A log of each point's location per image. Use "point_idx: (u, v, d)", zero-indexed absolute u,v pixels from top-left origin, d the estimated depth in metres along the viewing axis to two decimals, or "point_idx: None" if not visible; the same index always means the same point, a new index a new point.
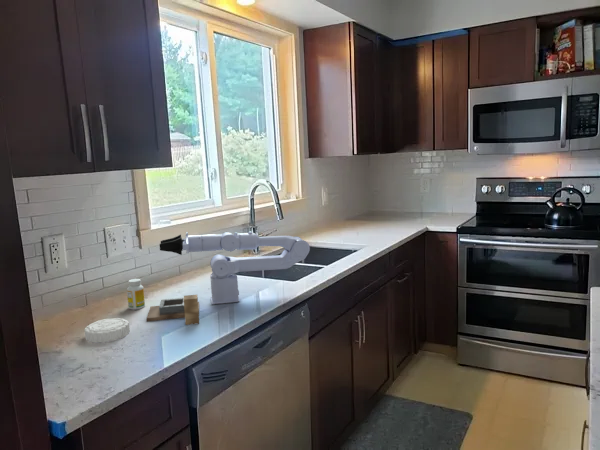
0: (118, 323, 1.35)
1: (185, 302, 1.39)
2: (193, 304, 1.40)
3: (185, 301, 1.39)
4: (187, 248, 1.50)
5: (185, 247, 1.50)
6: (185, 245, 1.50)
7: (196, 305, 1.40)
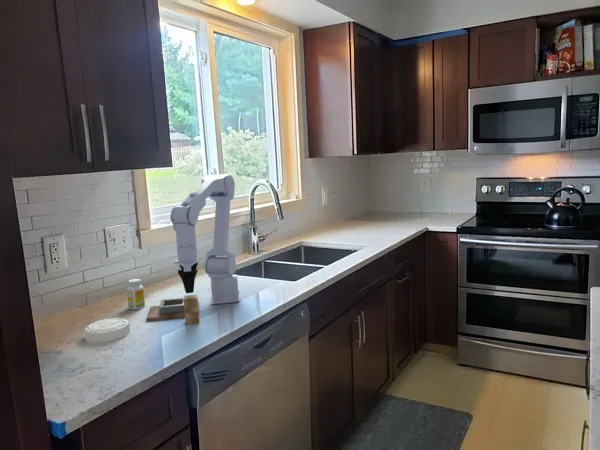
0: (118, 323, 1.35)
1: (185, 302, 1.39)
2: (193, 304, 1.40)
3: (185, 301, 1.39)
4: (189, 266, 1.33)
5: (187, 268, 1.33)
6: (185, 268, 1.33)
7: (196, 305, 1.40)
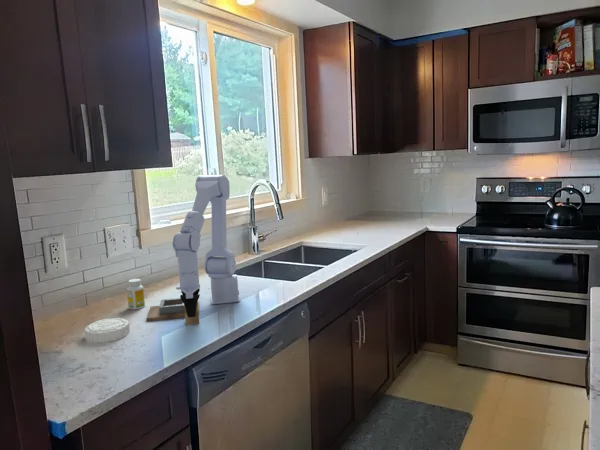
0: (118, 323, 1.35)
1: None
2: None
3: None
4: (191, 293, 1.34)
5: (189, 295, 1.34)
6: (187, 295, 1.34)
7: None
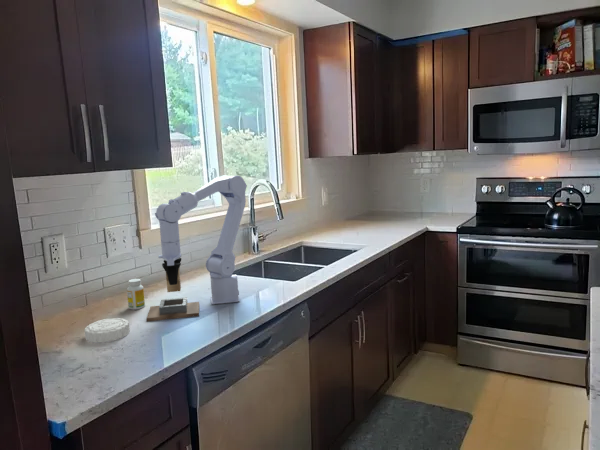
0: (118, 323, 1.35)
1: None
2: None
3: None
4: (172, 260, 1.41)
5: (171, 262, 1.41)
6: (168, 262, 1.41)
7: None
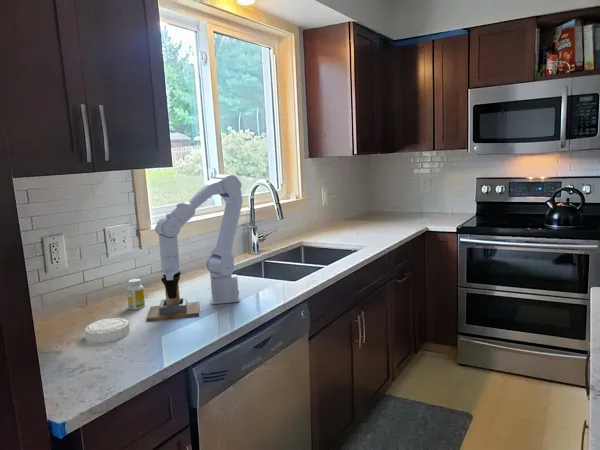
0: (118, 323, 1.35)
1: None
2: None
3: None
4: (171, 275, 1.43)
5: (170, 277, 1.43)
6: (167, 277, 1.43)
7: None
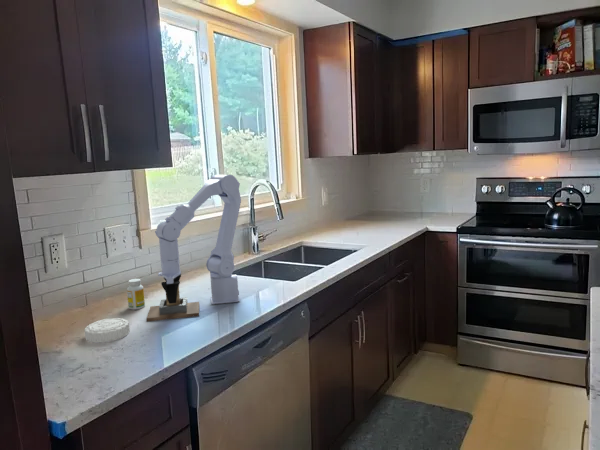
0: (118, 323, 1.35)
1: None
2: None
3: None
4: (171, 278, 1.43)
5: (170, 280, 1.43)
6: (168, 281, 1.43)
7: (177, 293, 1.49)
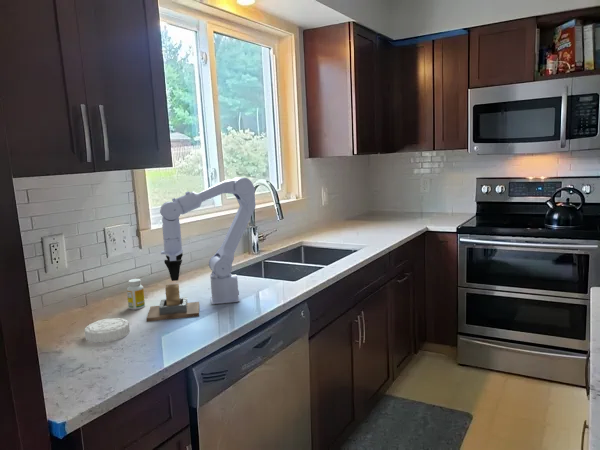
0: (118, 323, 1.35)
1: (167, 291, 1.48)
2: (174, 293, 1.49)
3: (167, 290, 1.48)
4: (174, 256, 1.48)
5: (173, 258, 1.48)
6: (171, 258, 1.48)
7: (177, 293, 1.49)
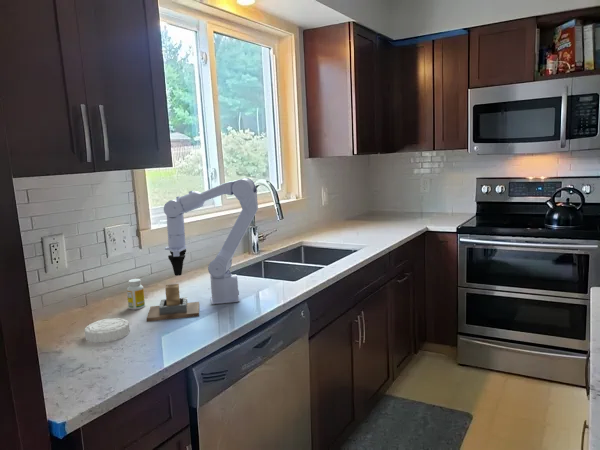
0: (118, 323, 1.35)
1: (167, 291, 1.48)
2: (174, 293, 1.49)
3: (167, 290, 1.48)
4: (177, 252, 1.54)
5: (176, 253, 1.54)
6: (174, 253, 1.54)
7: (177, 293, 1.49)
